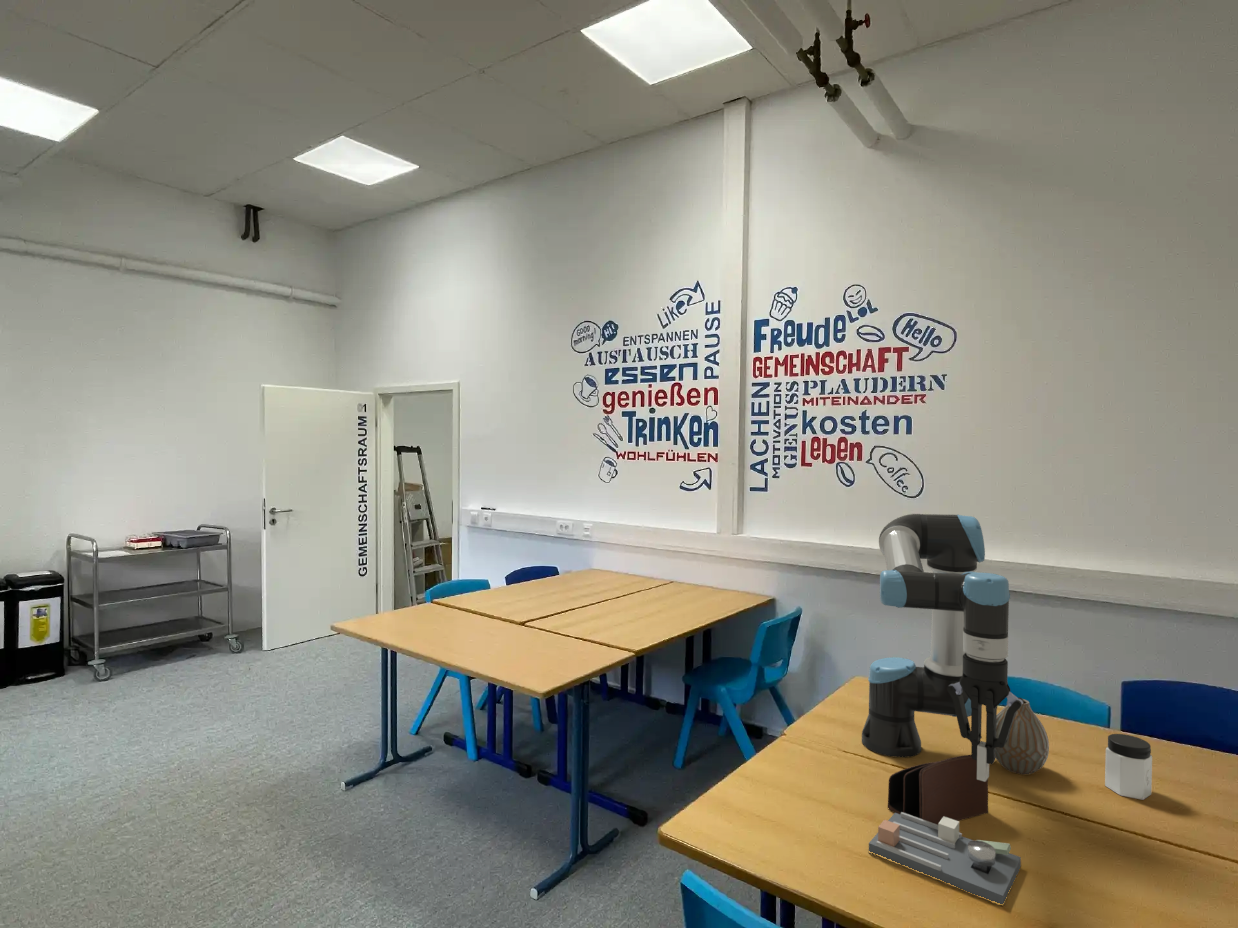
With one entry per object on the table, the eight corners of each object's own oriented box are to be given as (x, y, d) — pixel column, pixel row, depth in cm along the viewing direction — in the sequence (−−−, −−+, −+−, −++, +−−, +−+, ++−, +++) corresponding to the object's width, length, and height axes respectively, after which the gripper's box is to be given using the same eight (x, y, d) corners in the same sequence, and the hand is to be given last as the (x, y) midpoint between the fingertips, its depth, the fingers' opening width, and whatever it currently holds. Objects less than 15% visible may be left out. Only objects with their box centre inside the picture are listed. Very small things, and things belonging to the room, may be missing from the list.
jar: (1141, 803, 154) (1142, 751, 154) (1100, 788, 161) (1101, 738, 161) (1156, 792, 159) (1157, 742, 159) (1116, 778, 166) (1117, 730, 166)
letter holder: (989, 813, 150) (989, 751, 150) (921, 832, 143) (922, 767, 142) (952, 792, 159) (952, 733, 159) (886, 808, 152) (887, 747, 152)
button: (964, 871, 127) (965, 847, 127) (971, 860, 131) (971, 837, 131) (991, 882, 124) (992, 857, 124) (997, 870, 128) (998, 846, 128)
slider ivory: (938, 838, 136) (938, 823, 136) (943, 831, 139) (943, 816, 139) (954, 844, 134) (954, 828, 134) (959, 836, 137) (959, 821, 137)
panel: (868, 852, 135) (868, 830, 135) (894, 821, 147) (895, 801, 146) (1002, 906, 119) (1003, 881, 119) (1020, 867, 131) (1021, 844, 131)
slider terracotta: (878, 842, 135) (878, 826, 135) (884, 834, 138) (884, 819, 138) (893, 848, 133) (893, 832, 133) (899, 840, 136) (899, 824, 136)
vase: (1038, 786, 162) (1039, 715, 161) (980, 767, 171) (981, 699, 171) (1055, 769, 170) (1057, 701, 170) (999, 751, 180) (1000, 687, 180)
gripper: (942, 653, 129) (940, 773, 130) (1020, 668, 120) (1017, 797, 121) (953, 644, 134) (951, 759, 135) (1028, 658, 126) (1026, 781, 127)
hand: (982, 777), depth 128 cm, fingers closed
